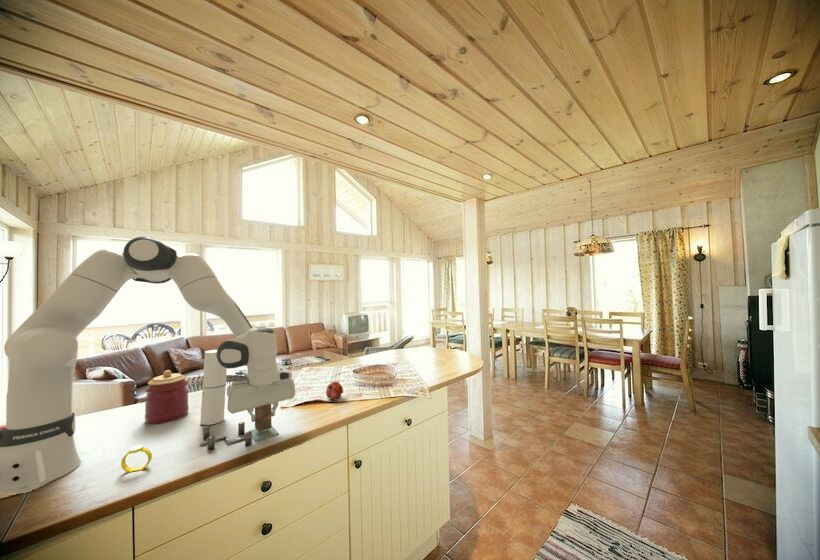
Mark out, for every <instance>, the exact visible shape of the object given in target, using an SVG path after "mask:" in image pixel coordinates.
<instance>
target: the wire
mask: <svg viewBox="0 0 820 560" xmlns="http://www.w3.org/2000/svg"><path fill="white" fill-rule="evenodd" d="M222 440H224V441H225V443H226V444H227V445H231V444H234V443H237V442H241V441H245V436H242V437H239V438H236V439H232V440H230V439H229V438H228V436H227V435H223V436H221V437H217V438H215V442H218V441H222ZM199 445H200V447H201V446H205V445H206V446H207V440H205V441H204V442H203V441H202V442H200V444H199Z"/></svg>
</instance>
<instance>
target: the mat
mask: <svg viewBox="0 0 820 560" xmlns="http://www.w3.org/2000/svg"><path fill="white" fill-rule="evenodd" d="M247 432H252V440H253V441H254V442H255V443H257V442H260V441H264V440H266V439H270V438H272V437H275V436H276V437H277V436H278V435H280V433H279V431H277V430H276V428H274V426H273V425H272V424H271V428H270V429H267V430H263V431H260V432H258V431H257V430H256V428H254V429H250V430H248V431H247Z"/></svg>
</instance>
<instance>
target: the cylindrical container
mask: <svg viewBox="0 0 820 560" xmlns="http://www.w3.org/2000/svg"><path fill="white" fill-rule="evenodd" d="M216 354H217V349H211V350H205V351H204V358H203V359H204V361H203V373H202V374H203V376H202V378H203V379H202V394H201V395H202V396H201V407H200V408H201V409H200V410H201V411H200V424H201V425H203V426H210V425H214V424H215V425H216V424H218V423H222V422H223V421H224V420H225V409H226V408H225V405H226V392H227V388H226V387H227V386H226V385H227V373H228V371H227V370H228V368H225V367H223V366H221V365H220V363H219V362H218V360H217V355H216Z"/></svg>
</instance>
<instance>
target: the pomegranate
mask: <svg viewBox="0 0 820 560" xmlns="http://www.w3.org/2000/svg"><path fill="white" fill-rule="evenodd" d="M343 392H344V389H343V386H342V384H341V383H340V382H339V381H332V382H331V383H330V384H328V385H327V387H326V389H325V394H326V398H328V399H329V398H331V399H330V400H333V399H338V398H339V399H340V398H341V397H342V394H343ZM339 399H338V400H339Z"/></svg>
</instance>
